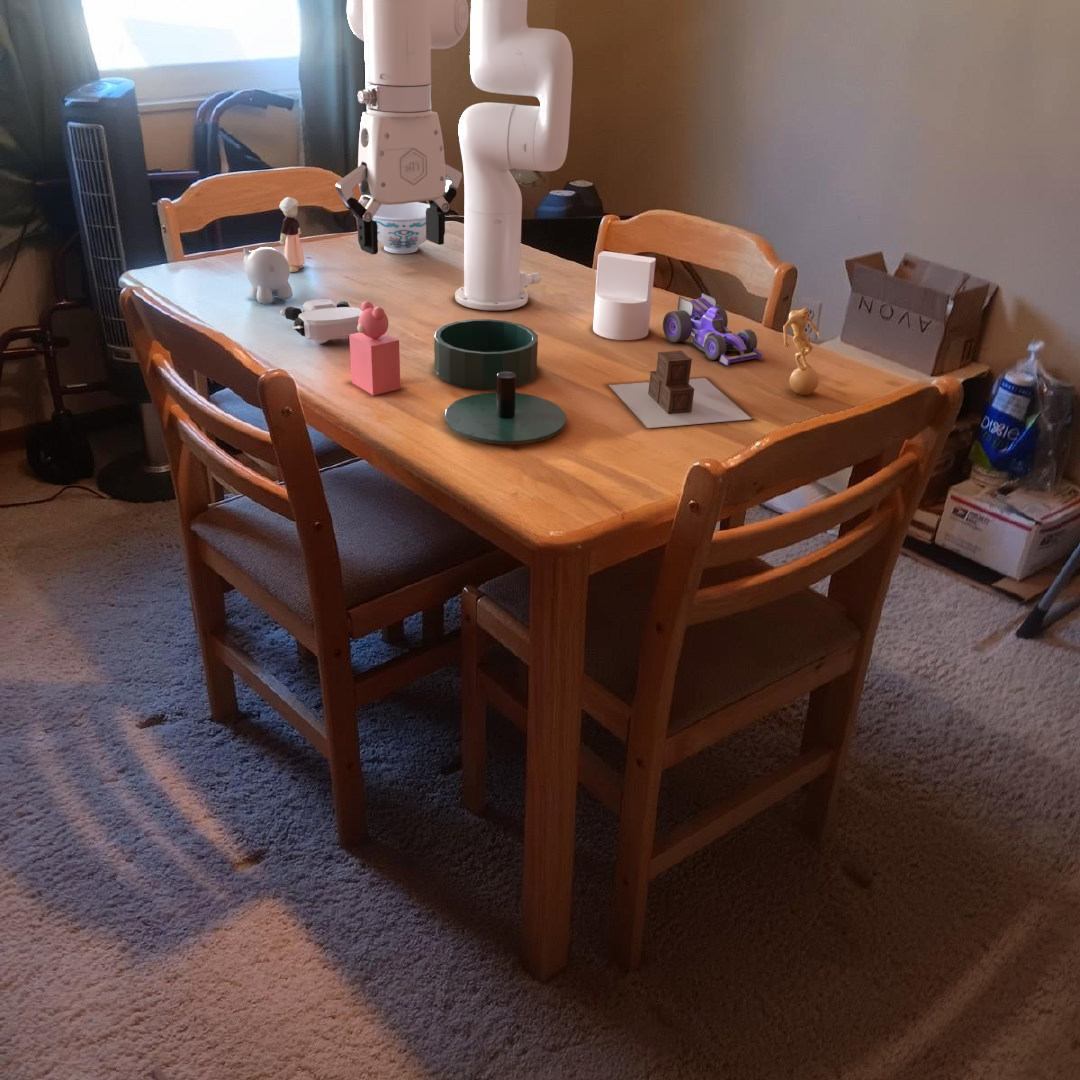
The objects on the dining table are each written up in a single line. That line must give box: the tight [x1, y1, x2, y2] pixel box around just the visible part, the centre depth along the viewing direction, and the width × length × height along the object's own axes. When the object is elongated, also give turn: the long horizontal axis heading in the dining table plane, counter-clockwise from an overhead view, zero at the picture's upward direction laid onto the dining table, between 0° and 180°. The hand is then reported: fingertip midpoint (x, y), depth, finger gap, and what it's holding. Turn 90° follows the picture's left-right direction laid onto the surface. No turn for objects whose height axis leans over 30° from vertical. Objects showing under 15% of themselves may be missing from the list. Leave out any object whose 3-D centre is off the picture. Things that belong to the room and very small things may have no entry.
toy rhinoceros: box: [242, 245, 293, 304], centre depth 170 cm, size 7×12×8 cm, turn 34°
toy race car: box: [662, 292, 763, 366], centre depth 157 cm, size 10×15×6 cm, turn 30°
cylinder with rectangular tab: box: [592, 250, 656, 341], centre depth 161 cm, size 9×9×12 cm
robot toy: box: [279, 298, 363, 345], centre depth 155 cm, size 12×4×15 cm
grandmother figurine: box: [279, 196, 306, 273], centre depth 183 cm, size 8×4×13 cm, turn 179°
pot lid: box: [444, 371, 567, 445], centre depth 129 cm, size 16×16×7 cm
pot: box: [433, 318, 539, 391], centre depth 144 cm, size 15×15×5 cm
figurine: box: [782, 308, 821, 396], centre depth 141 cm, size 8×6×12 cm
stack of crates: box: [608, 350, 752, 429], centre depth 137 cm, size 15×15×7 cm
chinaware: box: [373, 202, 430, 255], centre depth 199 cm, size 15×15×8 cm
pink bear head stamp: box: [349, 301, 401, 396], centre depth 136 cm, size 5×6×12 cm
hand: (402, 246), depth 127 cm, fingers open, 9 cm apart
